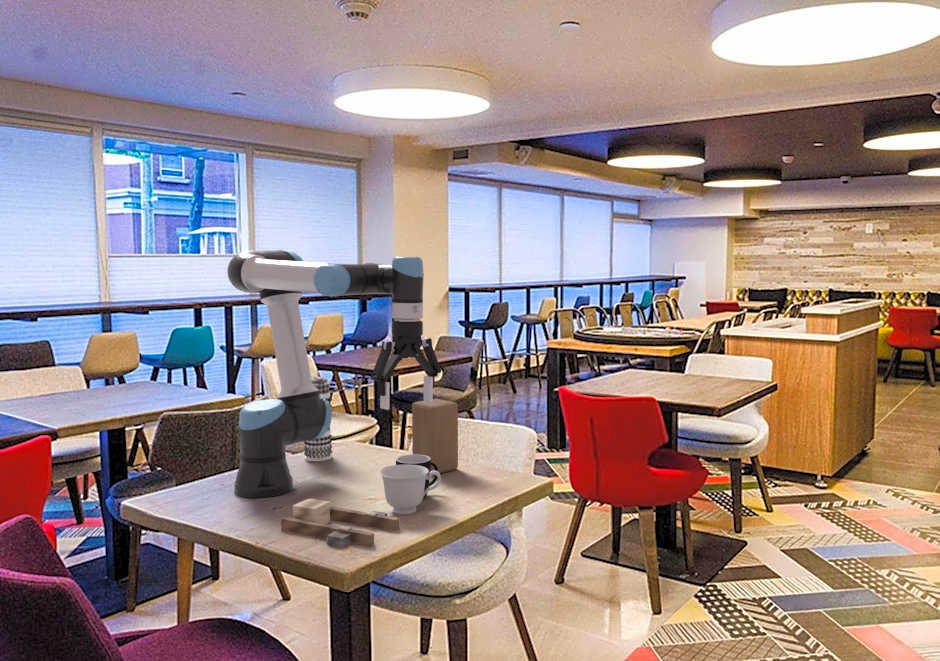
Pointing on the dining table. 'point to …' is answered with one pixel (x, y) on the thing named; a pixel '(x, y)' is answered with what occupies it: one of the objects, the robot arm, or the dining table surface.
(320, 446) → the decorative candle
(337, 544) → the beam slot
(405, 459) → the mug
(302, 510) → the block
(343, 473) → the dining table surface
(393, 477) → the teacup
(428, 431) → the block
